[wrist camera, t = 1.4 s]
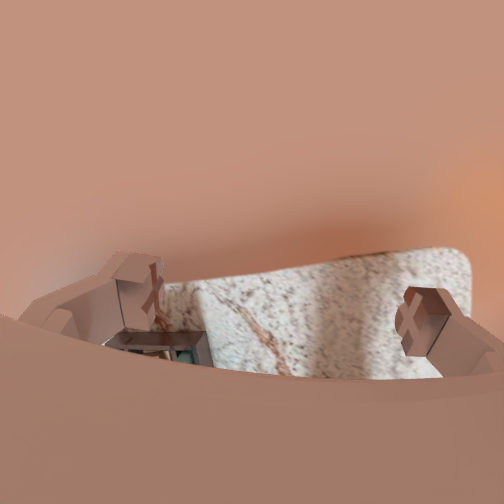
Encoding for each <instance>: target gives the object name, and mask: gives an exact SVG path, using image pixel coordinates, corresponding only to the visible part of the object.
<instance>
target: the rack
mask: <svg viewBox="0 0 504 504" xmlns="http://www.w3.org/2000/svg"><path fill="white" fill-rule="evenodd" d="M105 346H106V347H110V348H114V349H118V350H123V351H127V352H131V353H136V354H141V355H142V354H143V353H144V352H143V350H170V351H171V354H172V358H173V361H176V359H177V358H178V357H179V355H180V354H181V353H182V351H183V350H192V353H193V357H194V361H195V365H200V366H207V367H213V368H214V366H213V361H212V357H211V352H210V348H209V343H208V339H207V334H206V331H196V332H118V333H117V334H115V336H114V337H112V338H111V339H110V340H109V341H107V342H106V343H105Z"/></svg>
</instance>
